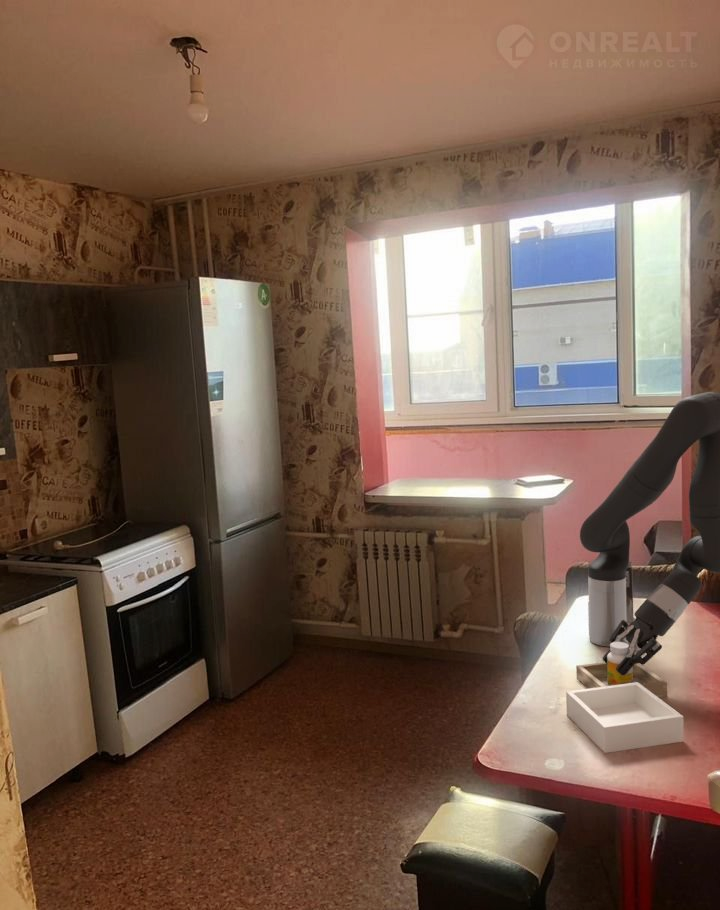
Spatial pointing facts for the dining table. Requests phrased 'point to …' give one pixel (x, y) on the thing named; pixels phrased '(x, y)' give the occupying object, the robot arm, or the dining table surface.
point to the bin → (624, 717)
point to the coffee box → (629, 594)
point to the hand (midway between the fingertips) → (612, 667)
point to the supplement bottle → (614, 659)
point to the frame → (652, 681)
